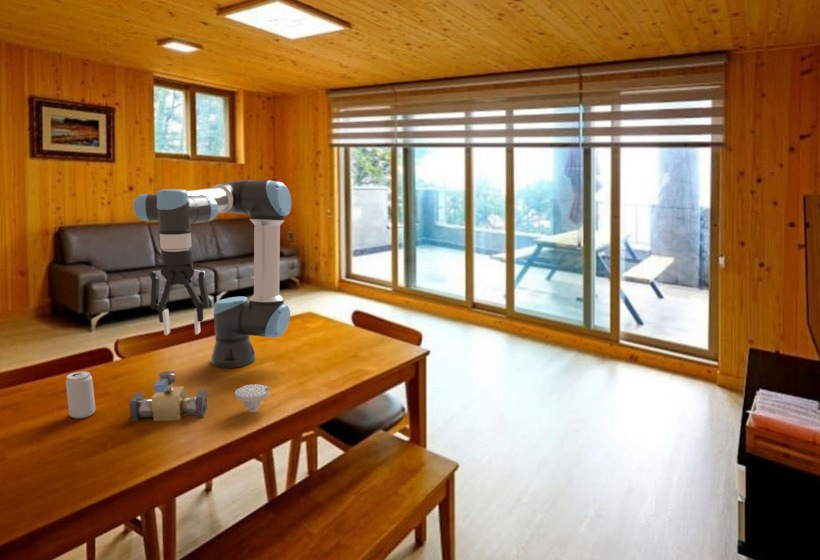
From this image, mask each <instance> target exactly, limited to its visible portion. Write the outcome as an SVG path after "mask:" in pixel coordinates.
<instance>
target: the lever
mask: <svg viewBox="0 0 820 560" xmlns="http://www.w3.org/2000/svg"><path fill="white" fill-rule="evenodd" d="M158 376H159V379H158V380H157V381H156V382H155V383H154V393H158V392H165V391H166V389H167V388H168V385H169V384H174V383H176V372H175V371H171V370H166V371H162V372H160V373H159V374H158Z"/></svg>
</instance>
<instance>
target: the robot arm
mask: <svg viewBox="0 0 820 560" xmlns="http://www.w3.org/2000/svg"><path fill="white" fill-rule="evenodd" d="M132 207H133V213H134V214H135V217H137V219H139V220H141V221H147V222H158V226H159V227H158V228H159V243H160V244H159V245H160V246H159V247H160V248H161V251H160V256H161V257H160V258H161V269H160V270H153V271H151V272H150V273H149V277H150V279H151V287H150V288H151V290H150V309H152V310H156V311H157V312H158V320H159V323H163V325H162V326H163V334H164V336H168V335H169V334H171V325H170V324H171V323H170V311H169V308H166V307H167V304H168V300H169V298H170V294H171V291H172V288H173V287H174V286H175V285H181V286H182V285H183V286H184V288H185V289H186V290H187V293H188V295H189V297H190V299H191V300H192V303H193V305H194V306H195V309H194V310H193V324H194V335H199V334H200V333H201V322H203V320H204V309H207V308H208V307H209V306H210V305H211V303H210V297H209V293H208V288H207V281H206V275H207V271H206V270H205V269H203V270H198V269H196V268H195V266H194V260H193V250H192V249H191V248H192V233H191V225H193V224H200V223H203V224H205V223H208V222H211V221H213V220H214V219H215V218H217V216H218V214H226V213H230V214H232V213H233V214H238V215H239V214H240V215H249V221H250V222H251V223H252V224H253V225H254V227H253V229H254V230H253V231H254V233H253V235H254V236H253V237H254V238H253V243H254V244H253V252H254V253H253V295H252V296H250V297H249V300H248V297H247V296H231V297H227V298H223V299H219V300H217V301H215V303H214V304H213V314H212V315H213V322H214V323H213V324H214V336H215V337H214V339H215V343H214V346H213V350H212V353H211V357H210V358H211V364H212V365H213V366H215V367H217V368H226V369H227V368H228V369H231V368H232V369H233V368H240V367H244V366H247V365H251V364H252V363H254V362H255V360H256V352H255V350H254V347H253V344H252V342H251V340H250V336H253V337H262V338H263V337H264V338H268V339H269V338H279V337H281V336H283V335H284V333H285V332H286V330H287V329H288V326H289V323H290V320H291V319H290V318H291V310H290V307H289V306H288V305H286V304H284V303H285V302H284V300H285V299H284V297H283V296H282V295H281V294H280V268H281V267H280V265H281V263H280V260H281V259H280V256H281V255H280V252H281V251H280V250H281V248H280V247H281V245H280V244H281V243H280V242H281V239H280V238H281V225H282V224H283V223H284V222H285V217H286V216H288V215H289V214H290V213H291V209H292V197H291V193H290V191H289V188H288V187H287V186H286V185H285V183H284V182H281V181H278V180H277V181H276V180H270V179H269V180H243V179H242V180H236V181H229V182H225V183H217V184H214V185H213V186H211V187H210V188H202V189H191V190H187V189H179V188H177V189H173V188H171V189H169V188H168V189H167V188H166V189H160V190H158V191H157V193H154V194H153V193H142V194H139V195H137V196H136V197H135V199H134V200H133V205H132ZM194 275H195V278H196V279H197V283H198V288H199V292H200V296H201V298H200V297H199V294H198V292H197V290H196V287H195V286H194V283H193V280H192V277H193V276H194ZM162 276H163V278H164V279H165V280H166V282H165V284H164V289H163V292H162V294H161V297H159V296H160V292H159V291H160V279H161V278H162ZM159 298H160V301H159Z"/></svg>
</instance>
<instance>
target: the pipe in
mask: <svg viewBox="0 0 820 560" xmlns="http://www.w3.org/2000/svg"><path fill="white" fill-rule="evenodd" d="M207 398H208V396H207V389H206V388H204V389H203V388H202V389H200V390H199V391H198V393H197V395H196V396H185V397H182V399H181V405H180V409H181V414H182V415H183V416H187V415H188V416H189V415H190V416H191V415H196V419H200V418H202V419H203V418H204V417H205V416H206V412H207V410H208V399H207Z"/></svg>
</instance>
